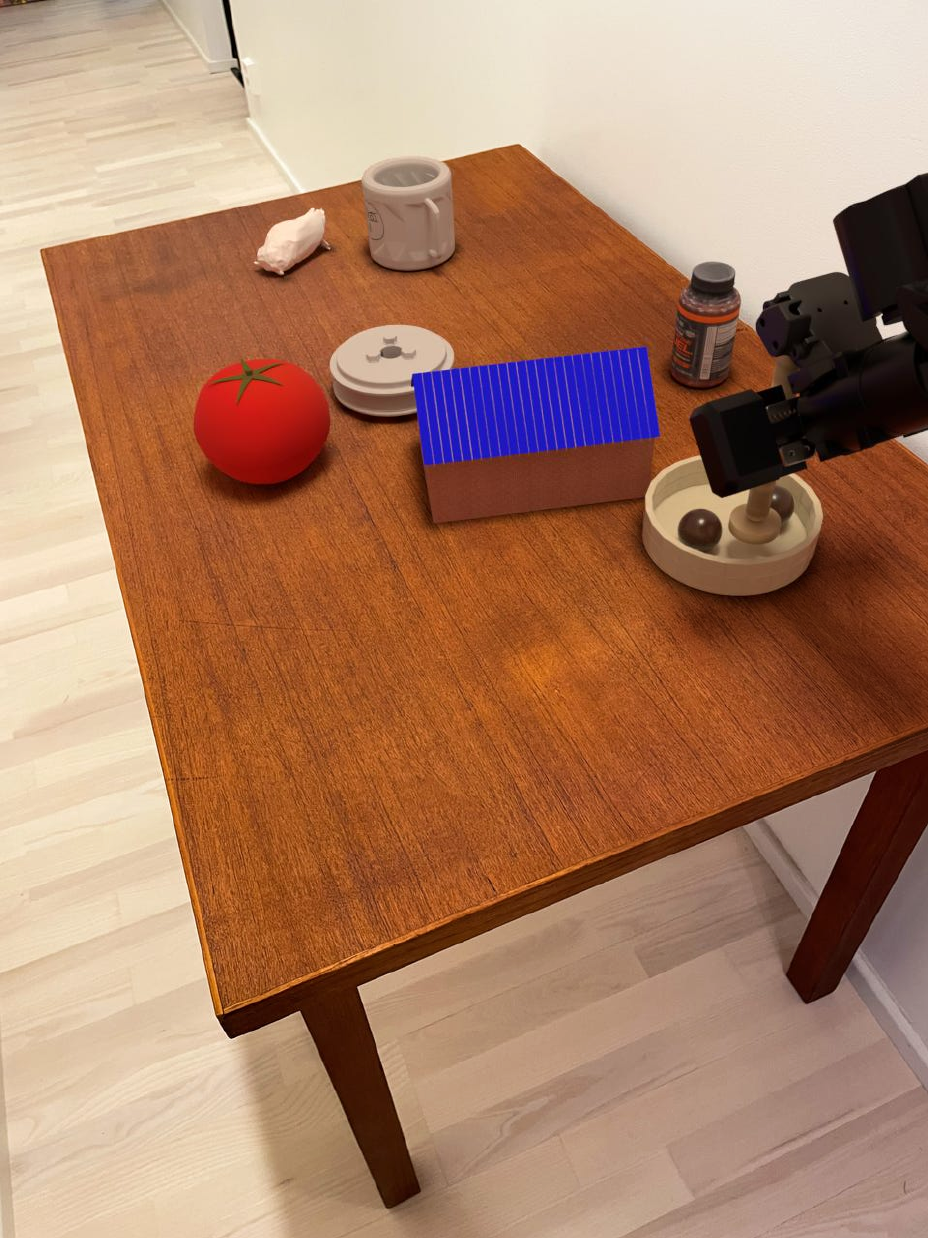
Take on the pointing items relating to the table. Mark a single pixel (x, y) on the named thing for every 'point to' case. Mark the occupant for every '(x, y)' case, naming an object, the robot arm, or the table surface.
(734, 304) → the supplement bottle
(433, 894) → the table surface
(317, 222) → the pale pink lumpy figure
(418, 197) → the mug
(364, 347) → the lid
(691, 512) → the bead
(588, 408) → the house
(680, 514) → the bowl
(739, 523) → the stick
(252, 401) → the tomato
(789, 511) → the bead
